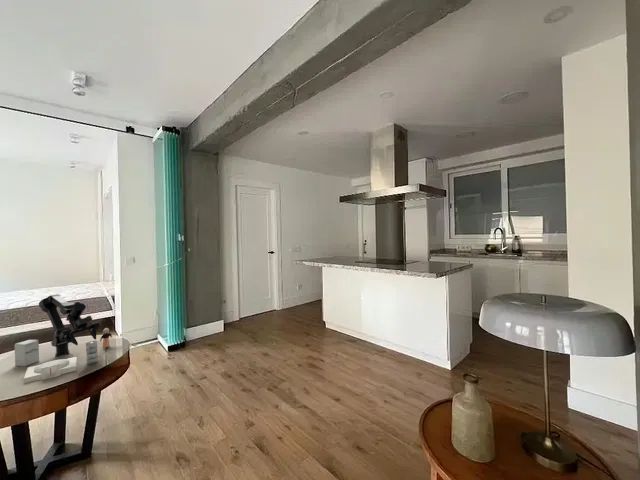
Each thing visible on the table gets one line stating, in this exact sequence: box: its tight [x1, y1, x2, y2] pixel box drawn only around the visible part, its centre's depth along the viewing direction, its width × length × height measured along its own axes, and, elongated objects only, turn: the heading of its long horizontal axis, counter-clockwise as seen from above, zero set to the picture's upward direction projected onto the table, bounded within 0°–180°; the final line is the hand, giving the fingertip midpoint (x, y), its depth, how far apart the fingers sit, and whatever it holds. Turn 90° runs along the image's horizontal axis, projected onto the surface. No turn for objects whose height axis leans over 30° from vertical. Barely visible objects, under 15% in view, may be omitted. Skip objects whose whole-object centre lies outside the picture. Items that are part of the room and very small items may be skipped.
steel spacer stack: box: [85, 340, 99, 366], centre depth 165 cm, size 5×5×12 cm
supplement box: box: [14, 339, 40, 367], centre depth 166 cm, size 7×7×13 cm
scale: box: [23, 356, 78, 384], centre depth 155 cm, size 18×20×6 cm
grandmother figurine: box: [99, 327, 113, 350], centre depth 188 cm, size 8×4×13 cm, turn 170°
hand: (86, 341), depth 167 cm, fingers open, 9 cm apart
